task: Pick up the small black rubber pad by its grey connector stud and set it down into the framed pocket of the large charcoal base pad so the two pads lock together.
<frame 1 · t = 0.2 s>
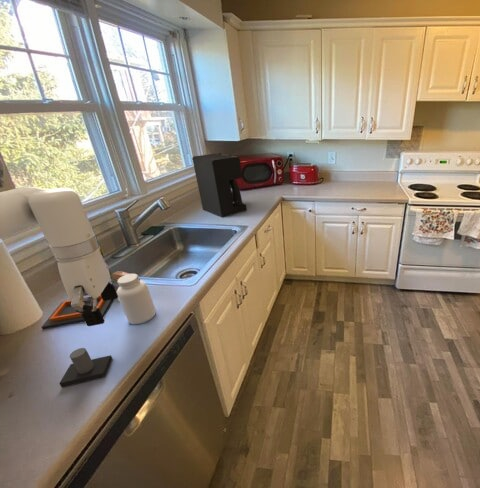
hand: (104, 310, 67), 17 cm above the countertop, tool pointing down, fingers open, 9 cm apart
stud pad: (88, 372, 72), on the countertop
coffee maker: (226, 210, 187), on the countertop
pill bottle: (142, 317, 91), on the countertop
base pad: (82, 310, 94), on the countertop
tin: (130, 293, 103), on the countertop
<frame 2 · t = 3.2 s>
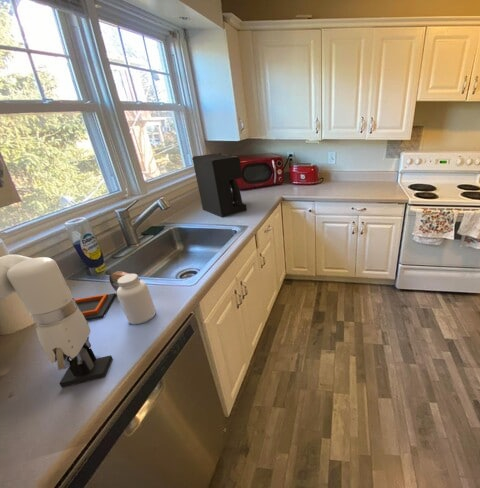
hand: (85, 367, 71), 2 cm above the countertop, tool pointing down, fingers closed on stud pad, 3 cm apart
stud pad: (88, 372, 72), on the countertop, touching gripper
everything else where it was.
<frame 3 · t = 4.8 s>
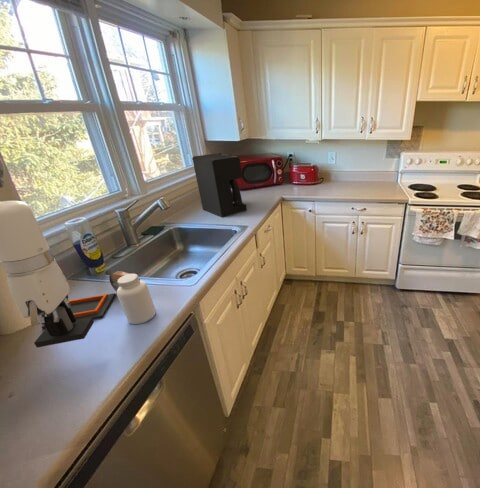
hand: (63, 327, 66), 14 cm above the countertop, tool pointing down, fingers closed on stud pad, 3 cm apart
stud pad: (67, 334, 67), point 12 cm above the countertop, touching gripper
everything else where it was.
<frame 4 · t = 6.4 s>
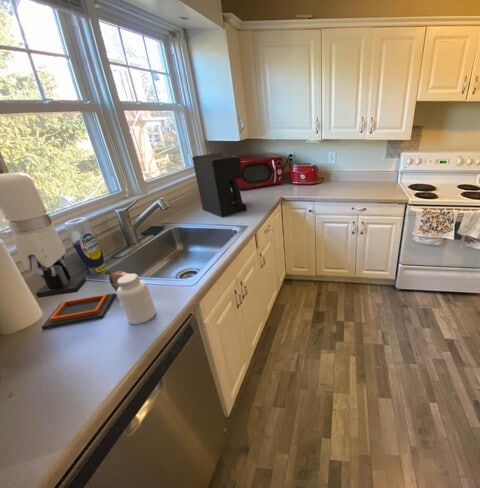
hand: (60, 283, 79), 17 cm above the countertop, tool pointing down, fingers closed on stud pad, 3 cm apart
stud pad: (63, 289, 79), point 15 cm above the countertop, touching gripper
everything else where it was.
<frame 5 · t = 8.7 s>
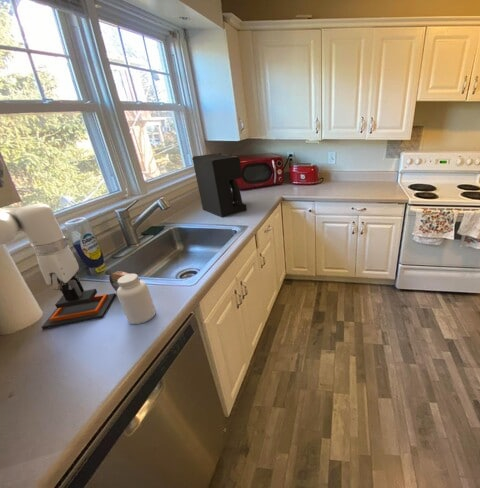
hand: (75, 295, 91), 6 cm above the countertop, tool pointing down, fingers closed on stud pad, 3 cm apart
stud pad: (78, 300, 92), point 4 cm above the countertop, touching gripper
everything else where it was.
when the fingers open (3 cm above the countertop, at t = 9.9 s): stud pad stays where it is, resting on base pad.
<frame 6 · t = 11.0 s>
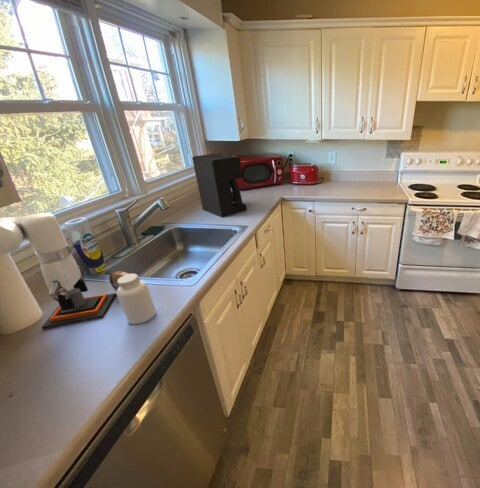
hand: (76, 299, 92), 5 cm above the countertop, tool pointing down, fingers open, 9 cm apart
stud pad: (81, 308, 94), point 1 cm above the countertop, touching base pad
everything else where it was.
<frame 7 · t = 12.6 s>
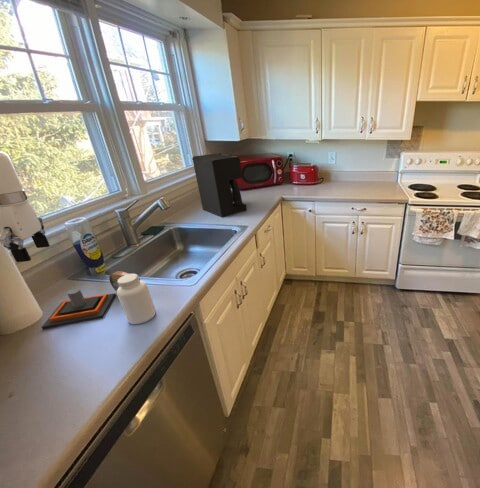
hand: (34, 253, 84), 22 cm above the countertop, tool pointing down, fingers open, 9 cm apart
nothing on the countertop moved.
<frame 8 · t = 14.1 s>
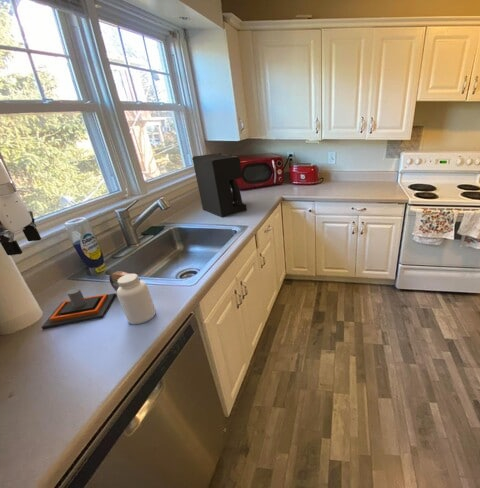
hand: (25, 247, 83), 24 cm above the countertop, tool pointing down, fingers open, 9 cm apart
nothing on the countertop moved.
at the end: stud pad 0.2 cm off-centre on the base pad, point 1.0 cm above the base pad's base; stud pad tilted 0°; the gripper is holding nothing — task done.
